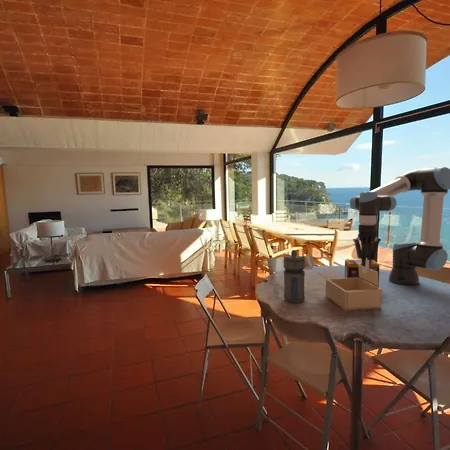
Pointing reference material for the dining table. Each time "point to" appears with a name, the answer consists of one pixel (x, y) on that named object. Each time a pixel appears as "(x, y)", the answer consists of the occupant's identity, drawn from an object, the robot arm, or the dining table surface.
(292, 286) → the beverage bottle
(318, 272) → the flap
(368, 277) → the flap
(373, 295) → the carton
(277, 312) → the dining table surface
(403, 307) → the dining table surface
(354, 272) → the supplement box
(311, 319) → the dining table surface
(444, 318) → the dining table surface
